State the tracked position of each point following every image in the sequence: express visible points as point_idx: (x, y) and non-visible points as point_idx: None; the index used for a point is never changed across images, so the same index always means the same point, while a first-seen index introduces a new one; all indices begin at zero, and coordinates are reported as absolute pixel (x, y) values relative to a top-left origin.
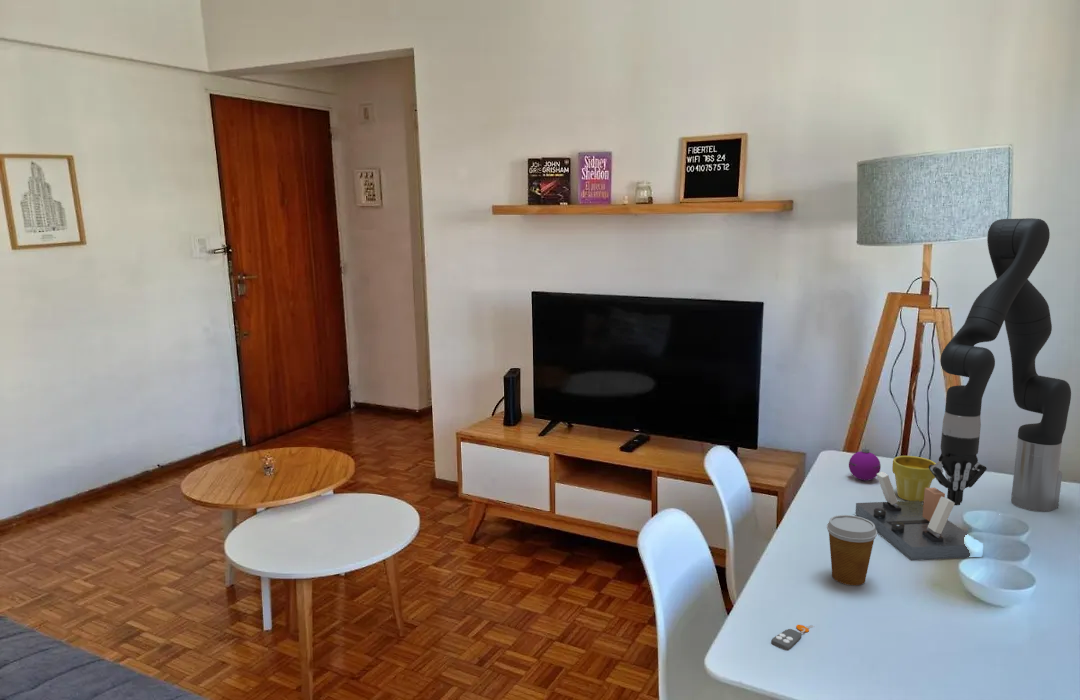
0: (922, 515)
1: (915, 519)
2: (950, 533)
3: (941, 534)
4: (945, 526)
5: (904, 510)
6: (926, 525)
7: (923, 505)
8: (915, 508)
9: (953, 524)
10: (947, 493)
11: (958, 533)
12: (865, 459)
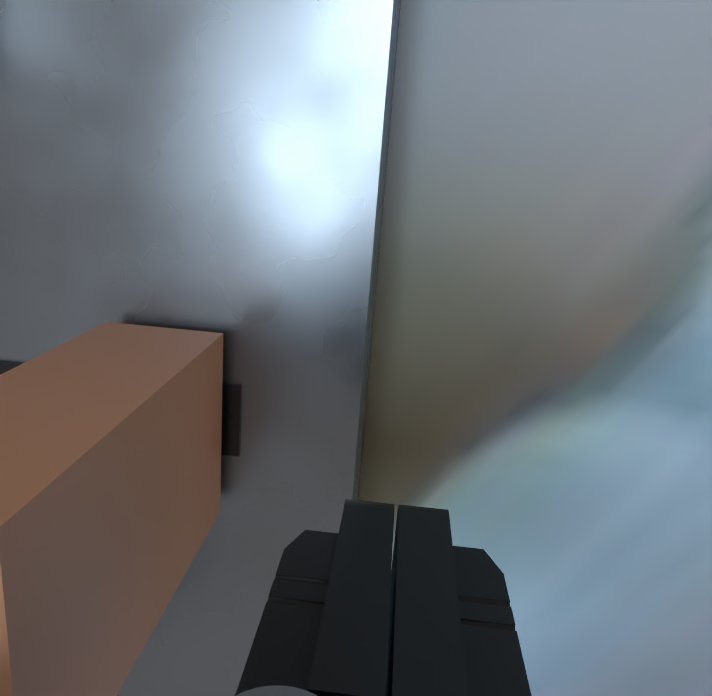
0: (158, 247)
1: (25, 333)
2: (181, 669)
3: None
4: (230, 541)
5: (24, 58)
6: None
7: (22, 367)
8: (195, 15)
9: (340, 520)
10: (259, 622)
11: None
12: None
